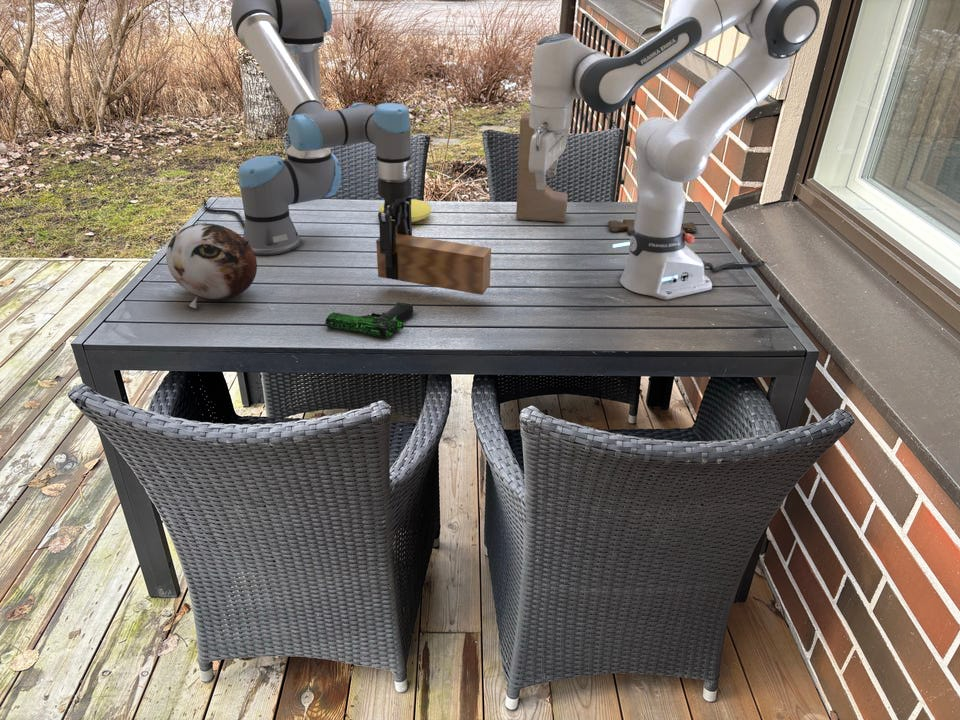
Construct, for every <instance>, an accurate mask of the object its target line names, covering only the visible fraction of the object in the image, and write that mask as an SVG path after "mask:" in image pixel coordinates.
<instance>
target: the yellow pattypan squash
mask: <svg viewBox="0 0 960 720" xmlns="http://www.w3.org/2000/svg"><path fill="white" fill-rule="evenodd" d="M432 209H433V208H432V206H431V205H430V204H429V203H428V202H426V201H423V200H420V199H413V198H412V200H411V219H412V223H416V222H419V221H422V220H424V219H426V218H428V217H429V216H430V215H431V213H432ZM378 211H379V212H383V211H384V203H383V204H381V206H380V207H379V209H378ZM391 220H392V219H391ZM393 221H395V220H393Z"/></svg>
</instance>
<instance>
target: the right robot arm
mask: <svg viewBox="0 0 960 720" xmlns="http://www.w3.org/2000/svg"><path fill="white" fill-rule="evenodd" d="M820 17H821V12H820V7H819V5H818V3H817V2H816V1H815V0H671V1H670V2H669V3H668V5H667V7H666V9H665V14H664V22H663V23H664V26H663V28H662V30H660V31H659V32H658V33H657V34H655V35H654V36H653V37H652V38H649V40H646V41H645V42H644V43H642V44H641V45H639V46H638V47H636V48H635V49H634V50H632V51H630V52H629V53H627V54H625V55H622V56H616V57H614V56H613V57H611V56H609V55H608V54H605V53H604V52H601V51H598V50H596V49H593V48H591V47H589V46H587V45H585V44H584V43H583V42H581V41H579V40H578V39H576V37H574V35H572V34H570V33H555V34H550V35H546V36H543V37H542V38H541V39H539V40H538V42H536V44H535V47H534V50H533V55H532V62H531V75H530V83H531V89H532V91H531V92H532V93H531V96H530V100H529V112H528V113H529V126H530V127H531V128H533V129H535V131H534V135H533V136H532V139H531V144H530V154H529V171H530V172H532V173H535V177H536V181H537V183H536V188H537V189H538V190H544V188H545V187H546V183H547V180H546V177H547V178H548V179H553V178H555V176H556V175H557V167H558V163H559V158H560V157H561V156H562V154H563V153H564V152H565V150H566V146H567V144H568V143H567V142H568V137H569V136H568V135H569V129H570V128H571V126H572V125H571V123H572V120H573V115H574V111H573V102H574V100H582V101H583V102H585V104H586V105H587V106H588V108H589V109H591V110H593V111H594V112H596V113H600V114H610V113H614V112H617V111H619V110H620V109H622V108H623V107H624V106H626V104H627V103H628V102H630V100H631V98H632V97H633V96H634V95H635V93H636V92H637V91H638V90H639V89H640V88H641V87H642V86H643V85H644V84H646V83H647V82H649V81H650V80H652V79H653V78H655V77H656V76H657V75H659V74H660V73H663V71H665V70H666V69H668V68H670V67H671V66H672V65H673V64H675V63H677V62H678V61H680V60H681V59H683V58H684V57H685V56H686V55H688V54H689V53H691V52H692V51H693V50H695V49H697V48H698V47H700V46H702V45H704V44H706V43H707V42H710V41H712V40H713V39H714V38H716V37H718V36H719V35H721V34H723V33H724V32H727V30H729V29H731V28H732V27H734V28H735V29H736V30H737V31H738V32H739V33H741V34H742V35H746V37H748V39H747V42H746V44H745V46H744V47H743V49H742V50H741V52H739V54H738V55H737V56H736V57H734V58H733V59H732V60H731V61H729V62H728V63H727V64H726V65H725V66H724V67H722V68H721V69H720V70H719V71H717V73H716V74H715V75H714V76H712V77H711V78H710V79H709V80H708V81H707V82H706V83H704V84H703V85H702V86H701V87H700V88H699V89H698V90H696V91H695V93H694V95H693V98H692V101H691V103H690V105H689V106H688V108H687V109H686V110H685V111H684V112H683V114H682V115H681V117H680V118H679V119H678V120H677V121H676V120H674V119H672V118H670V117H665V116H652V117H649V118H647V119H645V120H644V121H642V122H641V123H640V124H639V125H638V127H637V129H636V130H635V133H634V138H633V142H634V148H635V156H636V158H635V159H636V184H637V185H636V187H637V191H636V192H637V194H636V195H637V197H636V206H635V214H634V220H635V221H634V226H633V227H632V231H631V234H630V238H629V241H627V242H621V243H614V244H612V248H619V247H625V246H629V247H628V248H629V249H628V250H629V252H628V256H627V260H626V264H625V267H624V269H623V272H622V274H621V276H620V279H619V283H620V285H621V286H622V287H624V288H625V289H627V290H629V291H631V292H632V293H633V292H634V293H636V294H640V295H644V296H651V297H654V298H658V299H660V300H671V299H676V298H681V297H684V296H689V295H694V294H697V293H702V292H706V291H707V292H708V291H710V290H712V288H713V283H712V281H711V279H710V278H709V277H708V276H707V275H706V274H705V272H706V267H708V268H709V270H710V271H711V272H713V273H717V272H720V271H722V270H724V269H725V268H729V267H745V268H747V267H754V266H757V265H759V264H760V263H761V262H758V259H757V260H755V261H752V262H747V263H748V264H735V263H736V262H727V263H724V264H721V265H720V266H718V267H714V266H713V264H712V263H711V262H708V261H707V262H706V261H704V260H703V259H701V258H700V257H699V256H698V255H697V254H696V252H694V251H693V250H692V249H691V248H690V247H688V246H687V245H686V243H687V244H690V245H692V244H693V243H695V240H696V239H695V236H694V235H692V234H691V233H690V232H686V231H685V232H684V231H683V230H681V226H682V223H683V219H684V214H685V208H686V196H685V190H684V183H686V184H687V183H689V182H692V181H694V180H696V179H698V178H699V177H700V176H701V175H702V173H703V172H704V171H705V169H706V168H707V164H708V161H709V157H710V155H711V153H712V152H713V150H714V149H715V148H716V146H717V145H718V144H719V143H720V141H721V140H722V139H723V137H724V136H725V135H726V133H728V132H729V131H730V130H731V129H732V128H733V127H734V126H735V125H736V124H737V123H739V122H740V121H741V120H742V119H743V118H744V117H745V116H746V115H748V114H749V113H750V112H751V111H752V110H753V109H755V108H756V107H757V106H758V105H759V104H760V103H762V102H763V101H764V100H765V99H766V97H767V98H768V96H769V95H770V94H771V92H773V91H774V90H775V88H777V87H778V86H779V84H780V83H781V82H782V81H783V80H784V78H785V77H786V75H787V74H788V73H789V71H790V68H791V60H790V58H792V57H793V56H795V55H797V54H798V53H799V52H800V50H801V48H802V47H804V46H805V45H806V44H807V43H808V42H809V40H810V39H811V38H812V36H813V35H814V33H815V32H816V30H817V27H818V25H819V22H820ZM685 242H686V243H685Z"/></svg>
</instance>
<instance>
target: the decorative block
mask: <svg viewBox="0 0 960 720" xmlns="http://www.w3.org/2000/svg"><path fill="white" fill-rule="evenodd" d="M529 113H530V112H524V113H522V114H521V117H520V119H519V136H518V137H519V139H518V140H519V141H518V159H517V161H518V163H517V183H516V185H517V186H516V188H517V189H516V210H515V211H516V212H515V218H516V219H517V220H522V221H539V222H541V221H542V222H555V223H556V222H557V223H565V222H566V220H567V212H568V211H567V209H568V194H567V193H566V192H561V191H557V190H553V189H552V188H551V187H550V186H548V183H547V182H546V187H545V188H544V190H538V189H537V188H536V183H537V181H536V177H535V173H532V172H530V171H529V154H530V144H531V139H532V136H533V135H534V131H535V129H533V128H531V127H530V126H529Z"/></svg>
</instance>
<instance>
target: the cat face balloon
mask: <svg viewBox="0 0 960 720" xmlns="http://www.w3.org/2000/svg"><path fill="white" fill-rule="evenodd" d="M248 242H249V241H246V240H245V239H244V238H243V236H242V235H240V234H239V233H238V232H236V231H234V230H233V229H231V228H229V227H226V226H223V225H220V224H215V223H205V222H204V223H195V224H191V225H188V226H186V227H183V228H182V229H180V230H179V231H177V232H176V233H175V234H174V235H173V237H171V239H170V241H169V243H168V245H167V248H166V254H165V260H166V265H167V268H168V271H169V273H170V275H171V276H172V277H173V279H174V280H175V281H176V282H177V284H178V285H180V286H181V287H182V288H183V289H185V290H186V291H187V292H189V293H191V294H194V295H195V298H194V299H193V300H192V302H190V303H189V304H188V306H189V307H191V308H192V309H197V308H198V307H197V298H198V297H201V298H205V299H210V300H226V299H230V298H233V297H236V296H238V295H241V294H242V293H244V292H245V291H247V290H248V289H249V288H250V286H251V285H252V284H253V282H254V280H255V278H256V275H257V271H258V262H257V257H256V254H254V252H253V250H252V248H251V247H250V245H249V244H248Z"/></svg>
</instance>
